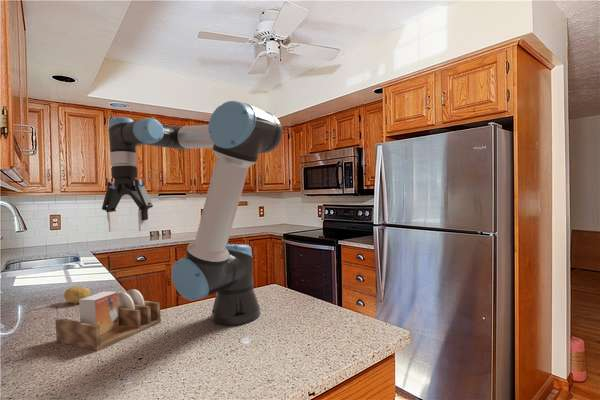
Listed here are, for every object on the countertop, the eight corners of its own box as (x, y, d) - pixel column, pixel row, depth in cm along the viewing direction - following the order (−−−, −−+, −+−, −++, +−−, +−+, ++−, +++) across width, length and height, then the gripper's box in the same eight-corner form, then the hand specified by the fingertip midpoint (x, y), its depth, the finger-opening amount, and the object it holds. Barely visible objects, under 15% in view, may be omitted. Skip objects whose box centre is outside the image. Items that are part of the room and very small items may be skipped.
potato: (76, 307, 121) (75, 290, 121) (59, 304, 126) (58, 288, 126) (94, 301, 127) (93, 285, 127) (77, 298, 132) (76, 283, 132)
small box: (96, 338, 89) (94, 300, 88) (80, 337, 90) (78, 299, 90) (119, 326, 96) (118, 291, 96) (104, 325, 98) (102, 290, 98)
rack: (160, 322, 102) (159, 289, 101) (97, 351, 84) (95, 311, 83) (122, 315, 109) (120, 285, 109) (56, 340, 91) (54, 304, 91)
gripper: (162, 163, 105) (165, 229, 105) (108, 170, 115) (111, 230, 115) (142, 161, 98) (146, 231, 98) (87, 168, 108) (91, 232, 108)
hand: (128, 231), depth 107 cm, fingers open, 13 cm apart
